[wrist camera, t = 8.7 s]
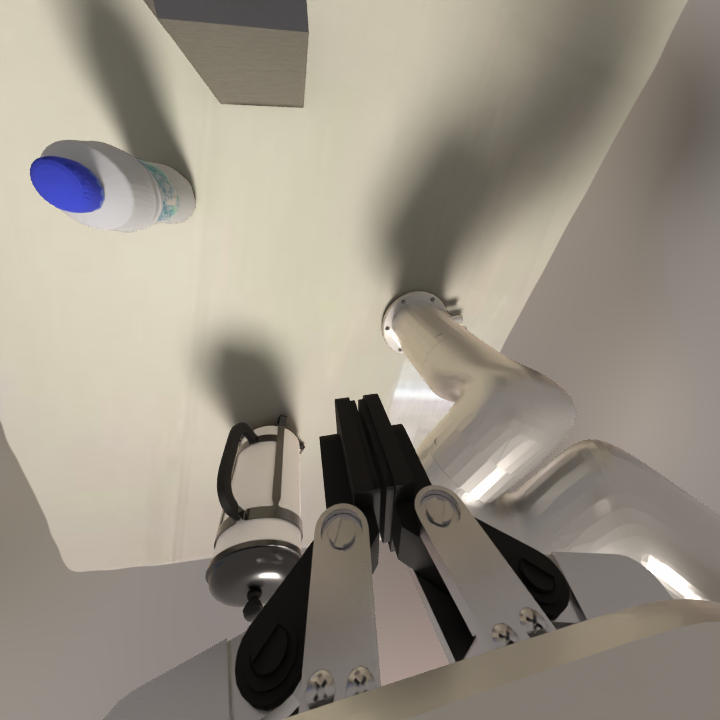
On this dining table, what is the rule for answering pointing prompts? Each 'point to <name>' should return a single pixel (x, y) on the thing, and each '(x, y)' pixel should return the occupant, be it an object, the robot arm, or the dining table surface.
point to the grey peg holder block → (242, 46)
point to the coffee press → (256, 516)
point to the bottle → (110, 187)
